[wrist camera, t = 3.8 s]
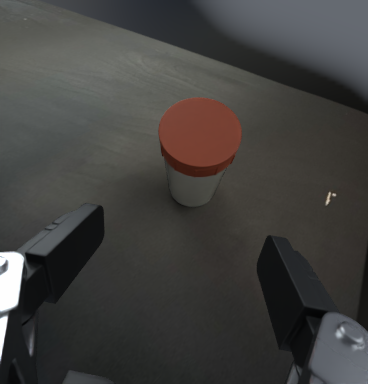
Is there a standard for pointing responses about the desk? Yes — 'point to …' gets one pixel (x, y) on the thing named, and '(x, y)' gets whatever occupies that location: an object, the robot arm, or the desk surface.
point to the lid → (199, 136)
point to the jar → (192, 187)
